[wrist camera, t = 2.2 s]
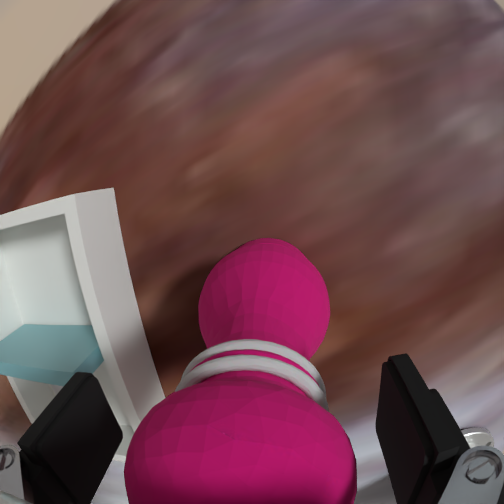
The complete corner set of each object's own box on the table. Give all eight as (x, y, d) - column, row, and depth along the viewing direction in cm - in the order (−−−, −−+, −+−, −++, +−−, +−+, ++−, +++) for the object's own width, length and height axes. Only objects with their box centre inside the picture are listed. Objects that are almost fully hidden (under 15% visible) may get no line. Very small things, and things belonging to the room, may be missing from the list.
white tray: (177, 430, 27) (162, 467, 22) (64, 415, 28) (42, 442, 23) (113, 187, 21) (74, 193, 17) (-3, 218, 23) (-41, 229, 18)
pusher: (135, 376, 24) (100, 430, 17) (41, 368, 25) (2, 405, 19) (118, 324, 23) (73, 372, 16) (24, 324, 24) (-22, 357, 18)
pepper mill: (195, 290, 23) (25, 552, 3) (256, 207, 21) (76, 502, 2) (276, 347, 23) (254, 634, 4) (342, 273, 22) (476, 575, 2)
